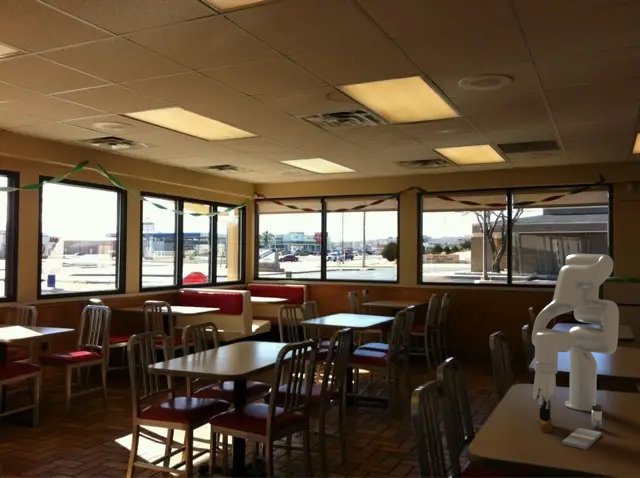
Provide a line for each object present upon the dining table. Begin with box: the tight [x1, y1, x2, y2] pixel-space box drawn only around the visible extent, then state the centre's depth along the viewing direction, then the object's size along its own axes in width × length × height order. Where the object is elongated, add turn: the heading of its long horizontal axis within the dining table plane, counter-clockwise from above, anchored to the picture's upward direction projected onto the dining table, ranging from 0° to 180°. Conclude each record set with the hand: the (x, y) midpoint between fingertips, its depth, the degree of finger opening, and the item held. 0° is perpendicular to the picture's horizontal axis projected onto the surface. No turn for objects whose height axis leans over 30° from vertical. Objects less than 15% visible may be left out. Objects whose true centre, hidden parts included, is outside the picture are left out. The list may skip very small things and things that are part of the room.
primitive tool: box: [535, 416, 553, 434], centre depth 201 cm, size 19×6×4 cm, turn 165°
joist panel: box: [562, 427, 602, 450], centre depth 185 cm, size 18×7×1 cm, turn 140°
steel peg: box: [590, 402, 603, 430], centre depth 198 cm, size 3×3×8 cm
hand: (544, 419), depth 202 cm, fingers closed
